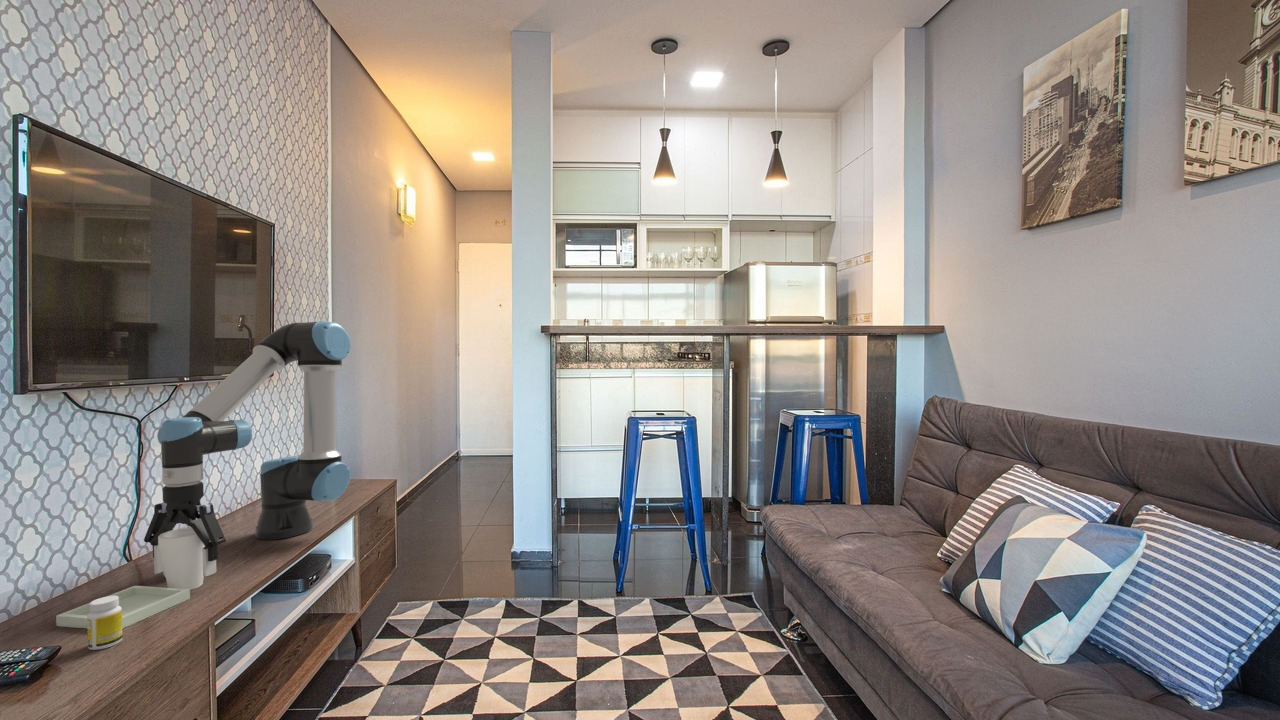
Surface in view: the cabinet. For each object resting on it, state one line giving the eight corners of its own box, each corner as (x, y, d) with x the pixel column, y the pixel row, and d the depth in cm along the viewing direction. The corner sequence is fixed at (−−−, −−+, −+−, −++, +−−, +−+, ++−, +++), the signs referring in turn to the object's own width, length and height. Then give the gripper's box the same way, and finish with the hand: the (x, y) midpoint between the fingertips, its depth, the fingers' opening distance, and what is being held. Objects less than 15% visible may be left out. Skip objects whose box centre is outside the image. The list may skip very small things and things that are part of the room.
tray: (135, 594, 129) (134, 585, 129) (189, 598, 126) (189, 589, 126) (56, 625, 114) (56, 615, 114) (116, 631, 111) (116, 620, 111)
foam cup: (150, 597, 127) (149, 540, 127) (172, 581, 136) (171, 528, 136) (199, 592, 130) (198, 535, 129) (218, 576, 138) (216, 524, 138)
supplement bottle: (129, 637, 109) (128, 594, 109) (107, 650, 104) (105, 605, 104) (104, 638, 108) (102, 595, 108) (80, 651, 104) (79, 605, 104)
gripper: (122, 485, 131) (125, 576, 131) (213, 488, 127) (215, 582, 127) (155, 478, 138) (158, 564, 139) (242, 481, 134) (244, 569, 134)
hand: (185, 573), depth 133 cm, fingers open, 13 cm apart
